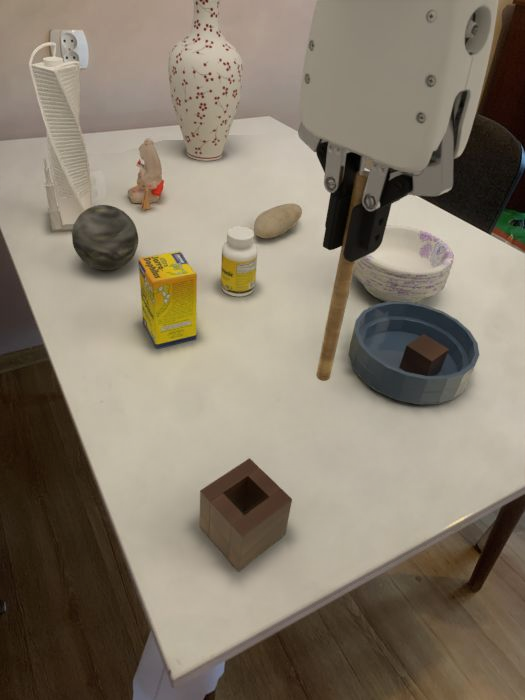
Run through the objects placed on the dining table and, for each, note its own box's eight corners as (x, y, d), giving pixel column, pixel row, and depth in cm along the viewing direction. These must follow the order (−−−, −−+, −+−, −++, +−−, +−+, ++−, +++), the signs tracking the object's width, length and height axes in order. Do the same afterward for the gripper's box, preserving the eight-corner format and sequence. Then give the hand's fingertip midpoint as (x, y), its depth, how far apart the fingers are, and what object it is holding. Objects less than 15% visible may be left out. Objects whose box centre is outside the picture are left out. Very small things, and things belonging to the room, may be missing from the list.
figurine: (126, 190, 109) (131, 129, 102) (160, 195, 111) (167, 135, 104) (127, 209, 102) (133, 144, 95) (163, 213, 104) (171, 150, 97)
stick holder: (285, 534, 53) (292, 499, 49) (238, 571, 50) (242, 536, 46) (245, 494, 56) (249, 457, 52) (199, 526, 53) (199, 490, 49)
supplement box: (142, 324, 76) (136, 257, 69) (181, 315, 79) (180, 249, 72) (155, 350, 72) (151, 281, 65) (197, 339, 75) (197, 272, 68)
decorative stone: (92, 246, 91) (84, 190, 85) (148, 255, 91) (145, 199, 84) (65, 276, 84) (54, 217, 77) (127, 287, 83) (121, 228, 77)
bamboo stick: (332, 377, 46) (378, 174, 35) (323, 383, 46) (366, 178, 34) (322, 369, 47) (364, 168, 36) (313, 375, 46) (352, 172, 35)
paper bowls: (331, 270, 92) (339, 228, 87) (407, 259, 97) (418, 219, 92) (376, 323, 81) (389, 278, 76) (458, 308, 86) (475, 265, 81)
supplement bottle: (216, 281, 86) (217, 225, 80) (248, 276, 88) (252, 222, 82) (226, 299, 83) (229, 243, 76) (259, 295, 84) (264, 239, 78)
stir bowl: (488, 372, 74) (502, 345, 71) (420, 427, 66) (432, 398, 62) (395, 315, 83) (403, 288, 80) (324, 357, 74) (330, 328, 71)
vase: (198, 172, 119) (198, -18, 96) (156, 149, 127) (148, -31, 105) (252, 158, 128) (265, -19, 105) (210, 137, 136) (213, -31, 114)
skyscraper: (52, 210, 100) (21, 39, 82) (97, 208, 102) (77, 41, 84) (51, 232, 94) (18, 53, 76) (100, 229, 96) (78, 54, 78)
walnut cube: (440, 371, 73) (449, 349, 70) (423, 384, 71) (431, 361, 68) (416, 356, 75) (424, 333, 72) (398, 367, 73) (406, 344, 70)
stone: (242, 226, 96) (274, 186, 101) (255, 254, 100) (284, 214, 106) (269, 226, 92) (300, 185, 98) (281, 255, 96) (310, 214, 102)
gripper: (604, -58, 25) (472, 280, 37) (347, -88, 33) (307, 197, 45) (531, -64, 20) (408, 321, 32) (257, -96, 29) (239, 221, 40)
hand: (350, 248), depth 38 cm, fingers closed on bamboo stick, 1 cm apart
